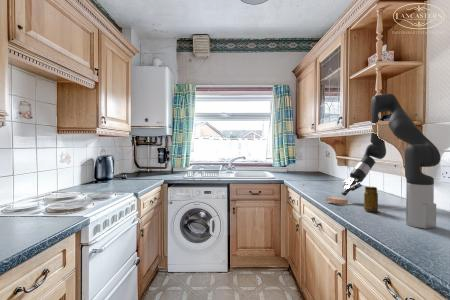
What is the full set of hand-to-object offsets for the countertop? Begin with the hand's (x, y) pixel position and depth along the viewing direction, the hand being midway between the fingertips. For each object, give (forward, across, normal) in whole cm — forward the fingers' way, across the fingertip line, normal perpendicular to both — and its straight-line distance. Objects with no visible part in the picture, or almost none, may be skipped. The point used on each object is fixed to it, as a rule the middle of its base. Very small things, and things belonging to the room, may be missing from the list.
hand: (343, 194), depth 155 cm
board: (+5, 0, +2) cm, 5 cm away
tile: (+2, 0, +2) cm, 3 cm away
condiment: (+4, +20, +4) cm, 21 cm away
